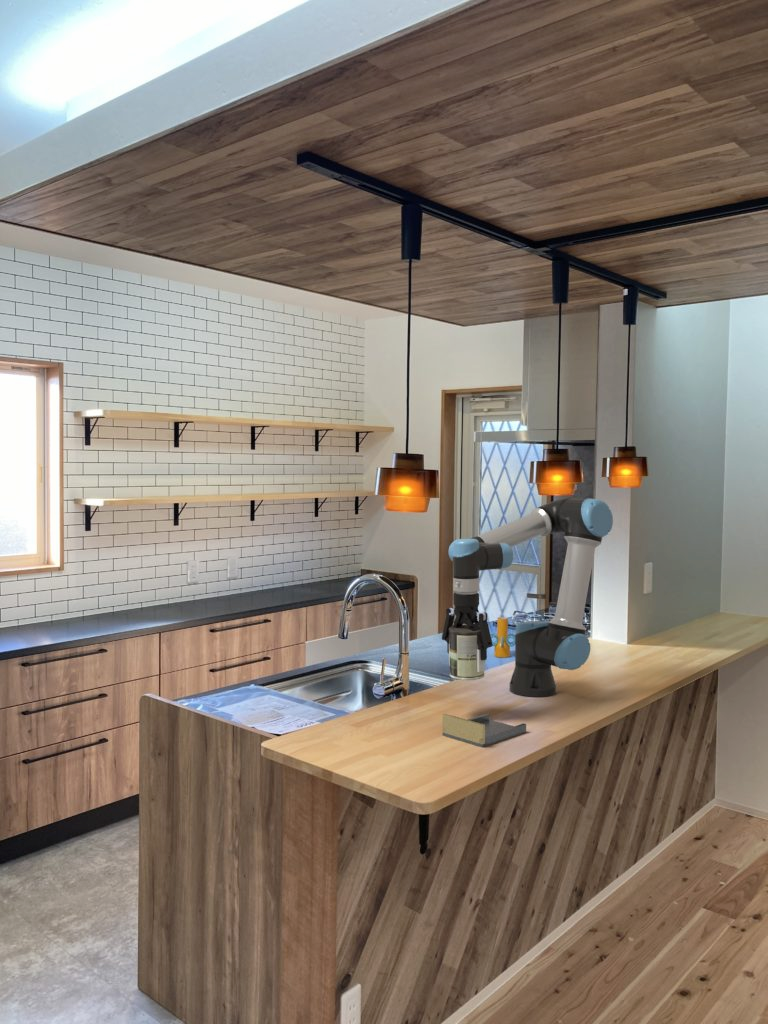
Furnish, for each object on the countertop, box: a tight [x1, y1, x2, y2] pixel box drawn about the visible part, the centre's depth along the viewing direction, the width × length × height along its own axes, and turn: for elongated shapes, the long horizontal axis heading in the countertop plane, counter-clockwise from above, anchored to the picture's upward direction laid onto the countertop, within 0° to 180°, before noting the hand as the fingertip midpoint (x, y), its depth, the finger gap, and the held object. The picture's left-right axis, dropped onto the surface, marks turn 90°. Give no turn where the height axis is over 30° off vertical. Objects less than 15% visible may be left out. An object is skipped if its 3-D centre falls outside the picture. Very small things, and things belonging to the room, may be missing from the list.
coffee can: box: [449, 624, 485, 681], centre depth 249 cm, size 10×10×14 cm
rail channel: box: [442, 713, 527, 748], centre depth 235 cm, size 19×14×6 cm
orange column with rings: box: [490, 616, 515, 659], centre depth 334 cm, size 12×10×15 cm
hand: (466, 667), depth 249 cm, fingers closed on coffee can, 10 cm apart
